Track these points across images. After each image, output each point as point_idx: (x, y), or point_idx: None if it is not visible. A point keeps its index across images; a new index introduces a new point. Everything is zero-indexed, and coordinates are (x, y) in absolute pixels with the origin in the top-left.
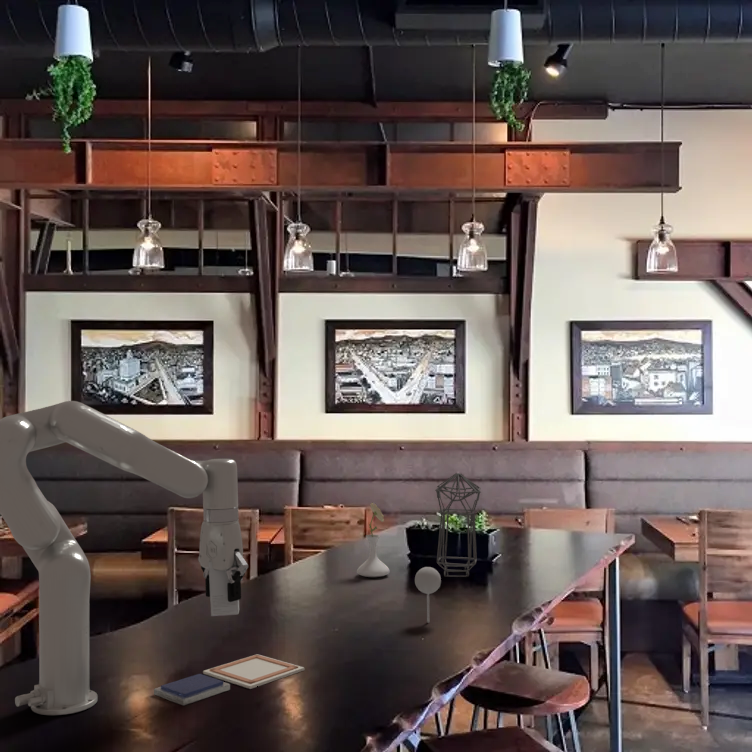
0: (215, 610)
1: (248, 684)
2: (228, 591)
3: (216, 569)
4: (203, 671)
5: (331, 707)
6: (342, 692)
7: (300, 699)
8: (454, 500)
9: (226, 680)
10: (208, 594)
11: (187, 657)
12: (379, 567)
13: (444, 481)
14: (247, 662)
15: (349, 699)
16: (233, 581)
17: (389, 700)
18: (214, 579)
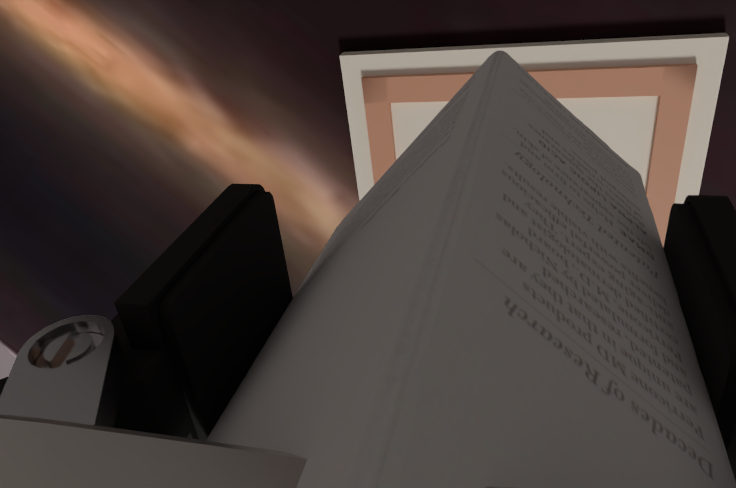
0: (456, 96)
1: (364, 64)
2: (188, 236)
3: (165, 438)
4: (725, 36)
5: (17, 123)
6: (120, 236)
7: (129, 107)
8: None
9: (514, 43)
10: (676, 214)
11: None
12: None
13: None
14: None
15: (57, 206)
16: (42, 343)
17: (5, 262)
18: (363, 287)
